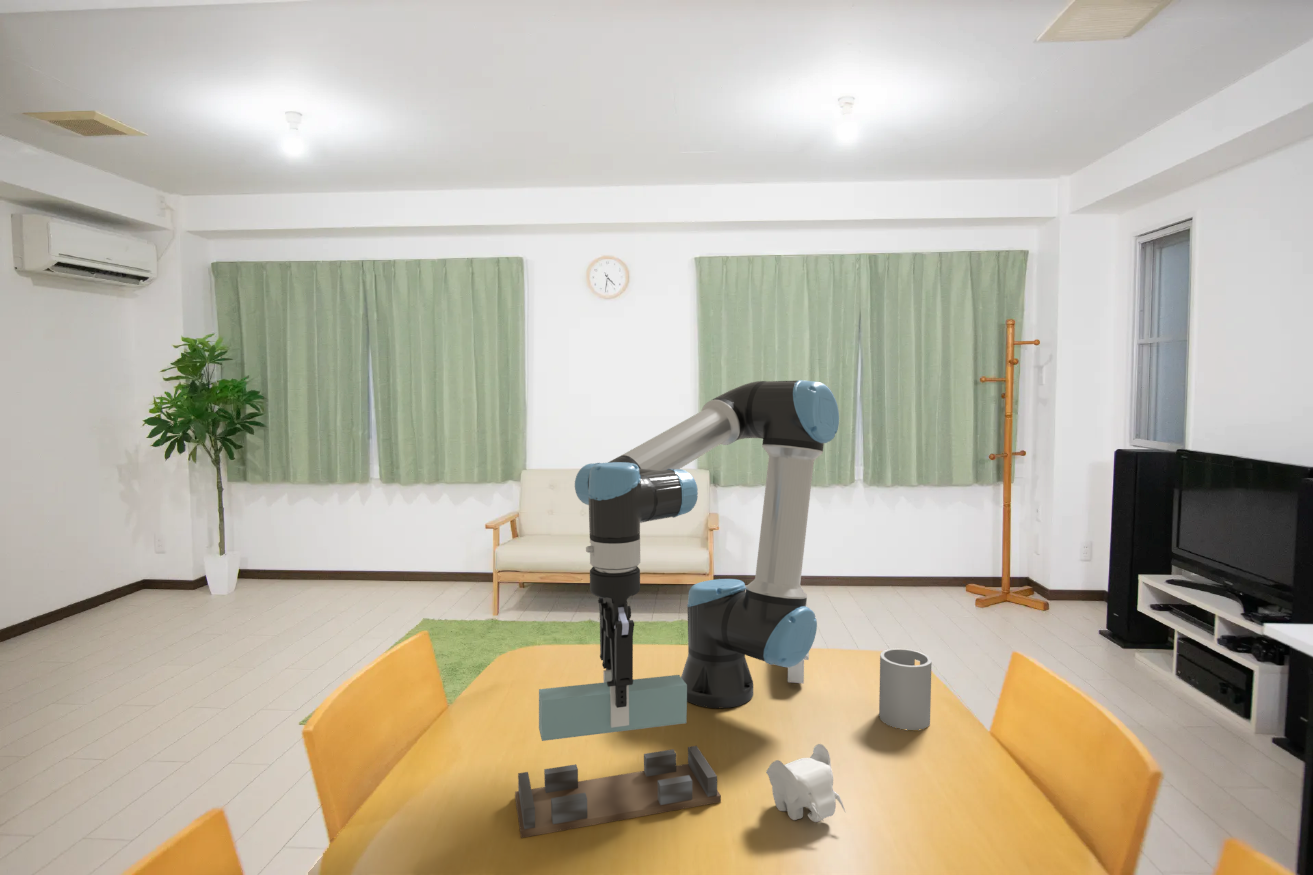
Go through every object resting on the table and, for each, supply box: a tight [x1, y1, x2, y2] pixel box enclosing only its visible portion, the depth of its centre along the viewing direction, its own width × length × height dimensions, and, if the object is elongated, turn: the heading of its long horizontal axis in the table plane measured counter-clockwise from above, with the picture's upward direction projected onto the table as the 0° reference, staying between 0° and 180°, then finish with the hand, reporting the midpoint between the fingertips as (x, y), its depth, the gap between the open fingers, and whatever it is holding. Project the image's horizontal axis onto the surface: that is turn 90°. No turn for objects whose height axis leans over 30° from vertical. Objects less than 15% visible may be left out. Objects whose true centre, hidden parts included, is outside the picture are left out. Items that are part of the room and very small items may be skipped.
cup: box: [878, 647, 932, 731], centre depth 133 cm, size 9×9×12 cm
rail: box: [538, 674, 688, 742], centre depth 106 cm, size 22×4×6 cm, turn 106°
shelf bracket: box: [787, 651, 810, 684], centre depth 158 cm, size 6×25×13 cm, turn 169°
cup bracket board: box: [514, 745, 722, 839], centre depth 107 cm, size 30×10×4 cm, turn 106°
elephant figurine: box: [765, 743, 846, 823], centre depth 104 cm, size 10×12×9 cm
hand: (616, 717), depth 106 cm, fingers closed on rail, 4 cm apart
